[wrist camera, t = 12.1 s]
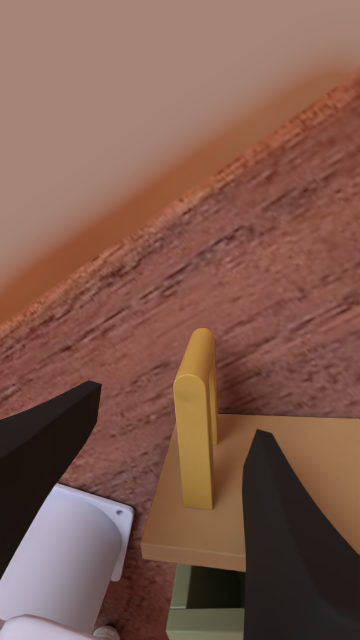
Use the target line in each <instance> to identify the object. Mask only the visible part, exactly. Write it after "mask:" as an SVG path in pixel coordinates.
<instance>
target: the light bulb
mask: <svg viewBox="0 0 360 640" xmlns="http://www.w3.org/2000/svg"><path fill="white" fill-rule="evenodd" d="M93 636H96V637H98V638H101V639H104V640H120V636H119V634H118V633H117V631H116V630H115V627H114V626H113V625H112V624H107V625H105V626H101V627H99V628H98V629H96V630H95V631H94V634H93Z"/></svg>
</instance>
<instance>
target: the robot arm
mask: <svg viewBox="0 0 360 640" xmlns="http://www.w3.org/2000/svg"><path fill="white" fill-rule="evenodd" d="M101 386H102V384H99V383H96V382H92V381H89V380H88V381H86V382H84V383H82V384H80V385H78V386H76V387H75V388H73V389H71V390H69V391H67V392H65V393H63V394H61V395H59V396H57V397H55V398H53V399H51V400H49V401H46V402H44V403H42V404H40V405H37V406H35V407H33V408H31V409H28V410H26V411H23V412H21V413H18V414H16V415H13V416H10V417H7V418H4V419H1V420H0V640H104V639H101V638H98V637H96V636H93V635H91V634H92V631H93V628H94V625H95V622H96V619H97V616H98V614H99V611H100V608H101V605H102V602H103V599H104V596H105V593H106V590H107V588H108V585H109V582H110V580H112V581H119V580H120V577H121V574H122V569H123V565H124V560H125V555H126V551H127V546H128V541H129V537H130V532H131V527H132V522H133V518H134V509H133V508H132V507H130V506H128V505H125V504H122V503H118V502H115V501H112V500H109V499H106V498H103V497H99V496H96V495H93V494H90V493H87V492H84V491H81V490H77V489H74V488H71V487H68V486H65V485H62V484H59V483H57V482H58V481H59V479H60V478H61V477H62V475H63V474H64V472H65V471H66V470H67V468H68V467H69V465H70V464H71V463H72V461H73V460H74V459H75V457H76V456H77V454H78V453H79V452H80V450H81V449H82V447H83V446H84V444H85V443H86V441H87V439H88V438H89V436H90V434H91V432H92V430H93V428H94V426H95V425H96V423H97V416H98V409H99V401H100V394H101ZM242 505H243V521H244V536H245V552H246V578H245V609H244V633H243V640H360V555H359V554H358V553H357V552H356V551H355V550H354V549H353V548H352V547H351V545H350V544H349V543H348V542H347V541H346V540H345V539H344V538H343V537H342V535H341V534H340V533H339V532H338V531H337V530H336V528H335V527H334V526H333V525H332V524H331V522H330V521H329V520H328V519H327V517H326V516H325V515H324V514H323V512H322V511H321V510H320V509H319V507H318V506H317V505H316V503H315V502H314V500H313V499H312V498H311V496H310V495H309V493H308V492H307V490H306V489H305V488H304V486H303V485H302V483H301V482H300V480H299V478H298V477H297V475H296V474H295V472H294V470H293V469H292V467H291V466H290V464H289V462H288V460H287V459H286V457H285V455H284V453H283V452H282V450H281V448H280V446H279V445H278V443H277V441H276V439H275V438H274V436H273V434H272V433H270V432H267V431H263V430H260V429H257V430H256V433H255V435H254V438H253V441H252V444H251V446H250V449H249V452H248V454H247V457H246V460H245V463H244V465H243V476H242Z"/></svg>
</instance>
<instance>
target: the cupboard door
mask: <svg viewBox="0 0 360 640" xmlns="http://www.w3.org/2000/svg"><path fill="white" fill-rule="evenodd" d="M173 392H174V403H175V414H176V423H175V427H174V430H173V434H172V437H171V440H170V444H169V447H168V451H167V454H166V458H165V461H164V464H163V468H162V471H161V475H160V478H159V482H158V485H157V488H156V492H155V495H154V499H153V502H152V506H151V509H150V512H149V516H148V519H147V523H146V526H145V530H144V533H143V536H142V540H141V543H140V545H141V551H142V558H143V559H148V560H155V561H163V562H171V563H179V564H187V565H195V566H203V567H211V568H219V569H226V570H234V571H242V572H246V552H245V536H244V521H243V505H242V476H243V465H244V463H245V460H246V457H247V454H248V452H249V449H250V446H251V444H252V441H253V438H254V435H255V433H256V430H257V429H260V430H263V431H267V432H270V433H272V434H273V436H274V438H275V439H276V441H277V443H278V445H279V446H280V448H281V450H282V452H283V453H284V455H285V457H286V459H287V460H288V462H289V464H290V466H291V467H292V469H293V470H294V472H295V474H296V475H297V477H298V478H299V480H300V482H301V483H302V485H303V486H304V488H305V489H306V490H307V492H308V493H309V495H310V496H311V498H312V499H313V500H314V502H315V503H316V505H317V506H318V507H319V509H320V510H321V511H322V512H323V514H324V515H325V516H326V517H327V519H328V520H329V521H330V522H331V524H332V525H333V526H334V527H335V528H336V530H337V531H338V532H339V533H340V534H341V535H342V537H343V538H344V539H345V540H346V541H347V542H348V543H349V544H350V545H351V547H352V548H353V549H354V550H355V551H356V552H357V553H358V554H359V555H360V419H351V418H322V417H293V416H264V415H235V414H218V401H217V379H216V357H215V337H214V335H213V333H212V332H211V331H210V330H208V329H205V328H200V329H197V330H195V331H194V332H193V334H192V336H191V339H190V341H189V344H188V347H187V349H186V352H185V355H184V357H183V360H182V363H181V365H180V368H179V371H178V373H177V376H176V379H175V381H174V384H173Z"/></svg>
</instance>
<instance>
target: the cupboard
mask: <svg viewBox="0 0 360 640" xmlns="http://www.w3.org/2000/svg"><path fill="white" fill-rule="evenodd" d="M245 578H246V572H242V571H234V570H226V569H219V568H211V567H203V566H195V565H187V564H179V563H177V568H176V574H175V580H174V586H173V592H172V598H171V604H170V610H169V615H168V621H167V627H166V633H167V636H168V638H169V640H243V633H244V609H245Z"/></svg>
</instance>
